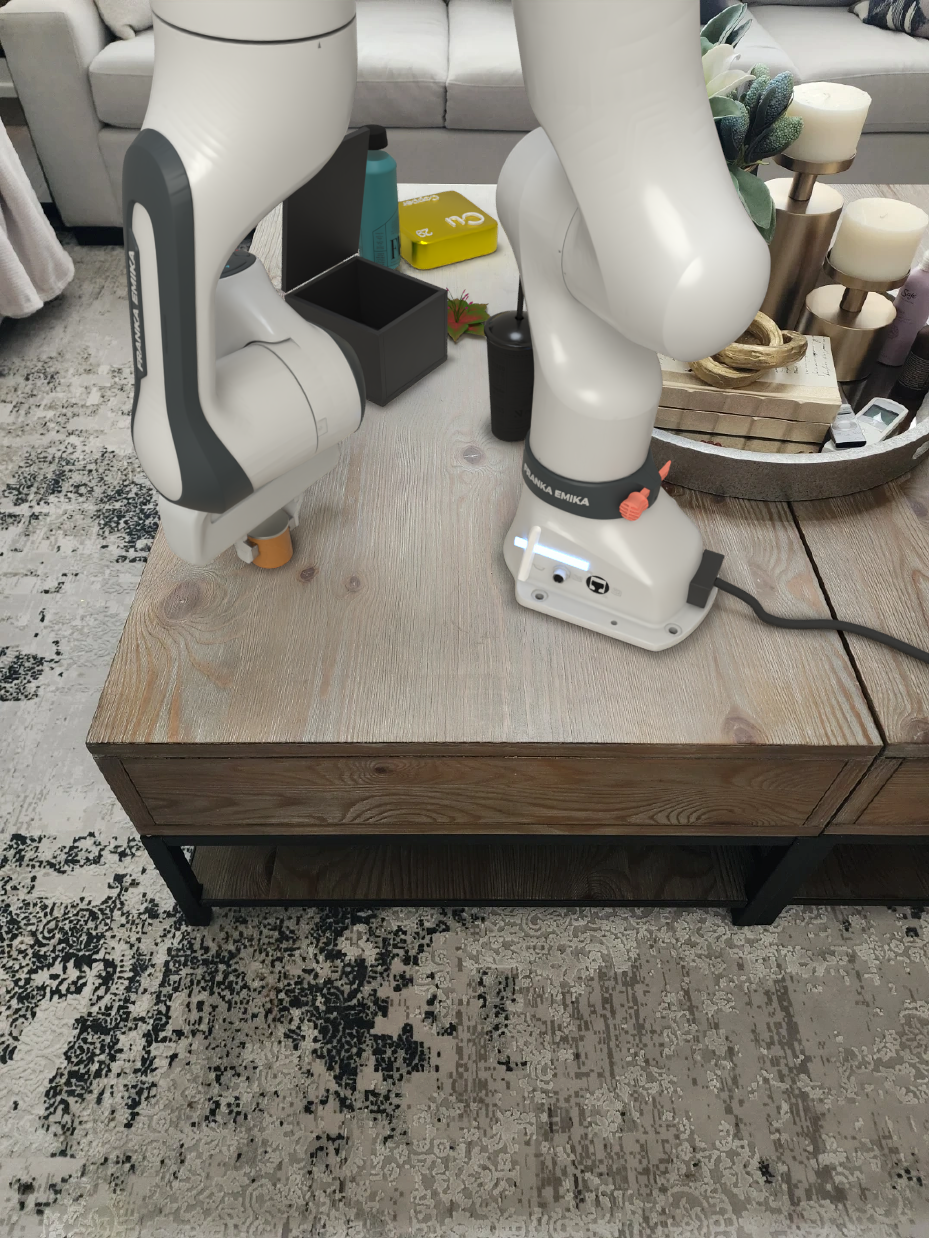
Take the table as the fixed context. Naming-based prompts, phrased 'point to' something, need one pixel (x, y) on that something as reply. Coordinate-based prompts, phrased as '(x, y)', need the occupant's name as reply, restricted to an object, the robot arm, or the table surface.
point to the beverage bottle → (380, 204)
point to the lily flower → (465, 317)
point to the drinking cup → (510, 372)
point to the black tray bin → (380, 321)
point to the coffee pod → (272, 541)
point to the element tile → (444, 230)
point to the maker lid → (325, 214)
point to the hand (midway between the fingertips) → (269, 542)
